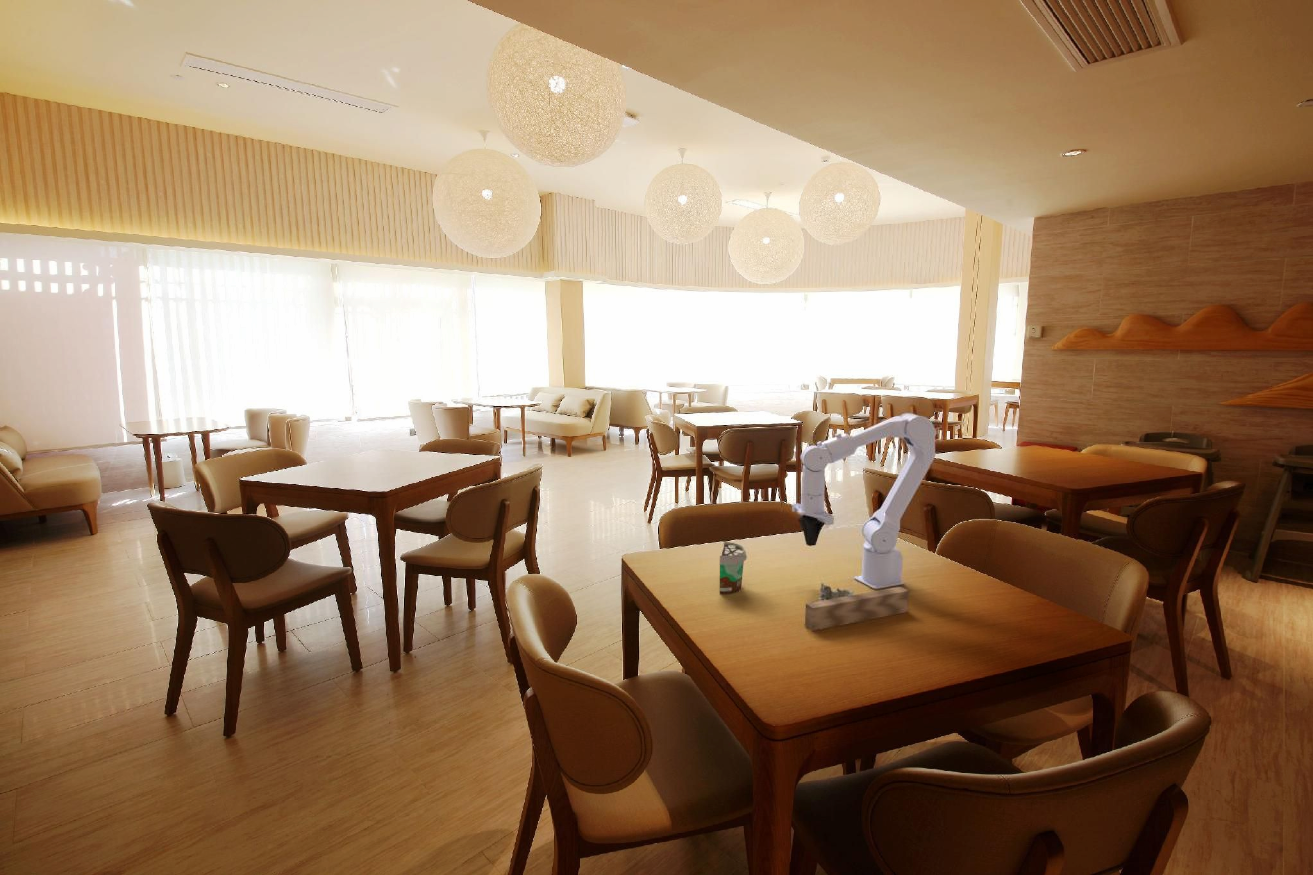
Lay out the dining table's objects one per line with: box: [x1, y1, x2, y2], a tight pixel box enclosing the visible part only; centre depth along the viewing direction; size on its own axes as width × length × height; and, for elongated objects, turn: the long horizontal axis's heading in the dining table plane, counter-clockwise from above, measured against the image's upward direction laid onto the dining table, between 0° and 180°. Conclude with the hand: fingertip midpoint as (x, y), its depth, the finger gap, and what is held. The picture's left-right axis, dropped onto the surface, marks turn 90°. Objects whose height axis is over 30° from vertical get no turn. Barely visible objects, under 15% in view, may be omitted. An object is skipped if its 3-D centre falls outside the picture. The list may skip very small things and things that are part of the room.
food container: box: [719, 541, 748, 595], centre depth 147 cm, size 12×6×10 cm, turn 168°
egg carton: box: [818, 582, 855, 601], centre depth 136 cm, size 11×8×4 cm
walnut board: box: [804, 586, 910, 632], centre depth 130 cm, size 26×2×5 cm, turn 111°
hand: (811, 544), depth 151 cm, fingers closed
